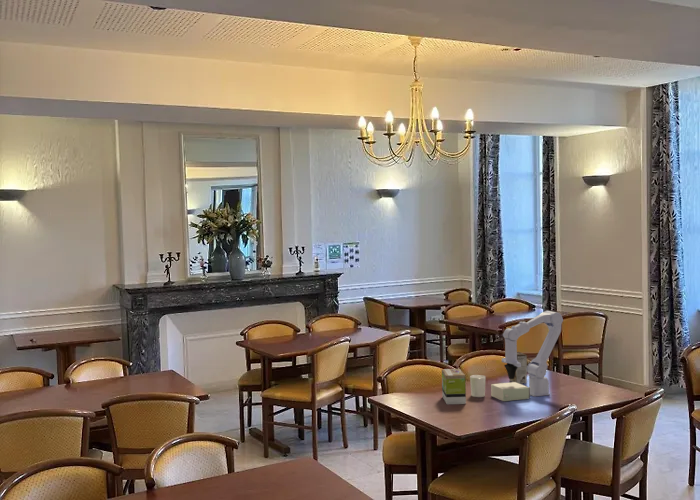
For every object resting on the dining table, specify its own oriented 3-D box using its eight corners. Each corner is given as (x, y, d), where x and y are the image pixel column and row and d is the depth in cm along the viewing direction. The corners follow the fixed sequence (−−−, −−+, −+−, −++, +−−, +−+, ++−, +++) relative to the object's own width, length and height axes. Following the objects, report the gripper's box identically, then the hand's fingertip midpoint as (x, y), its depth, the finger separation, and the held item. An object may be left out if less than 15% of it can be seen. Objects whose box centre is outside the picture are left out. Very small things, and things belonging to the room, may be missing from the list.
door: (529, 398, 344) (529, 387, 344) (531, 398, 342) (531, 388, 342) (503, 400, 340) (503, 389, 340) (505, 401, 338) (505, 390, 338)
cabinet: (514, 393, 355) (514, 382, 355) (527, 398, 344) (527, 386, 344) (491, 395, 351) (491, 384, 351) (503, 401, 340) (503, 389, 340)
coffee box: (509, 380, 385) (508, 352, 384) (519, 379, 386) (519, 351, 386) (516, 384, 376) (516, 355, 376) (527, 383, 378) (527, 354, 377)
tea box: (441, 397, 350) (441, 368, 350) (461, 396, 350) (460, 368, 350) (446, 404, 335) (445, 374, 335) (466, 404, 335) (466, 374, 335)
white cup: (485, 397, 347) (485, 378, 347) (470, 397, 349) (469, 377, 348) (485, 394, 355) (485, 375, 354) (470, 393, 356) (470, 374, 356)
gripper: (496, 350, 353) (496, 376, 353) (512, 355, 339) (512, 382, 340) (508, 349, 355) (508, 375, 356) (524, 354, 342) (524, 381, 342)
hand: (511, 378), depth 348 cm, fingers closed
